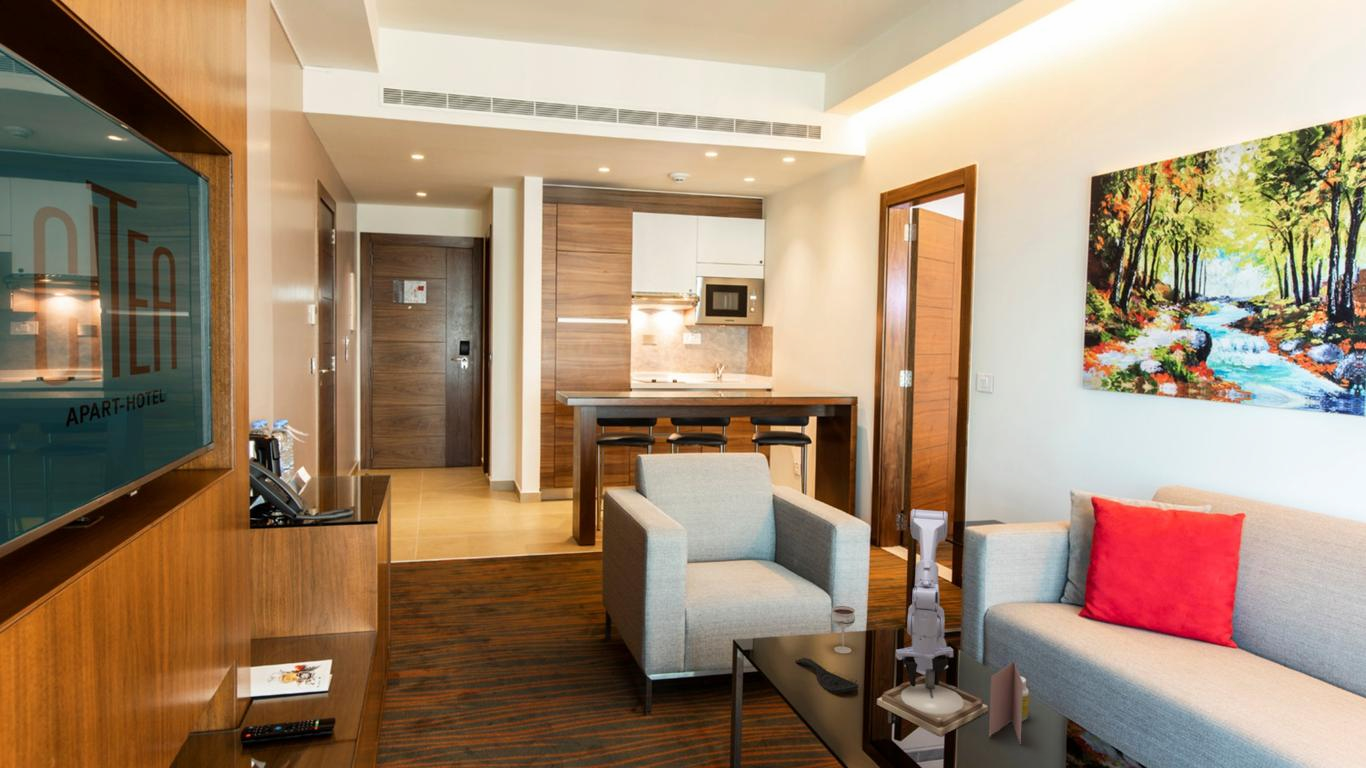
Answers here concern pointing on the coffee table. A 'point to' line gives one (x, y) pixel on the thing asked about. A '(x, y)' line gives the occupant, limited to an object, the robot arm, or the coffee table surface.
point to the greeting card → (1006, 699)
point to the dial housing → (933, 724)
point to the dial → (932, 697)
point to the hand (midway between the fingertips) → (923, 684)
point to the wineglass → (843, 623)
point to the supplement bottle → (1025, 699)
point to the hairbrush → (830, 678)
